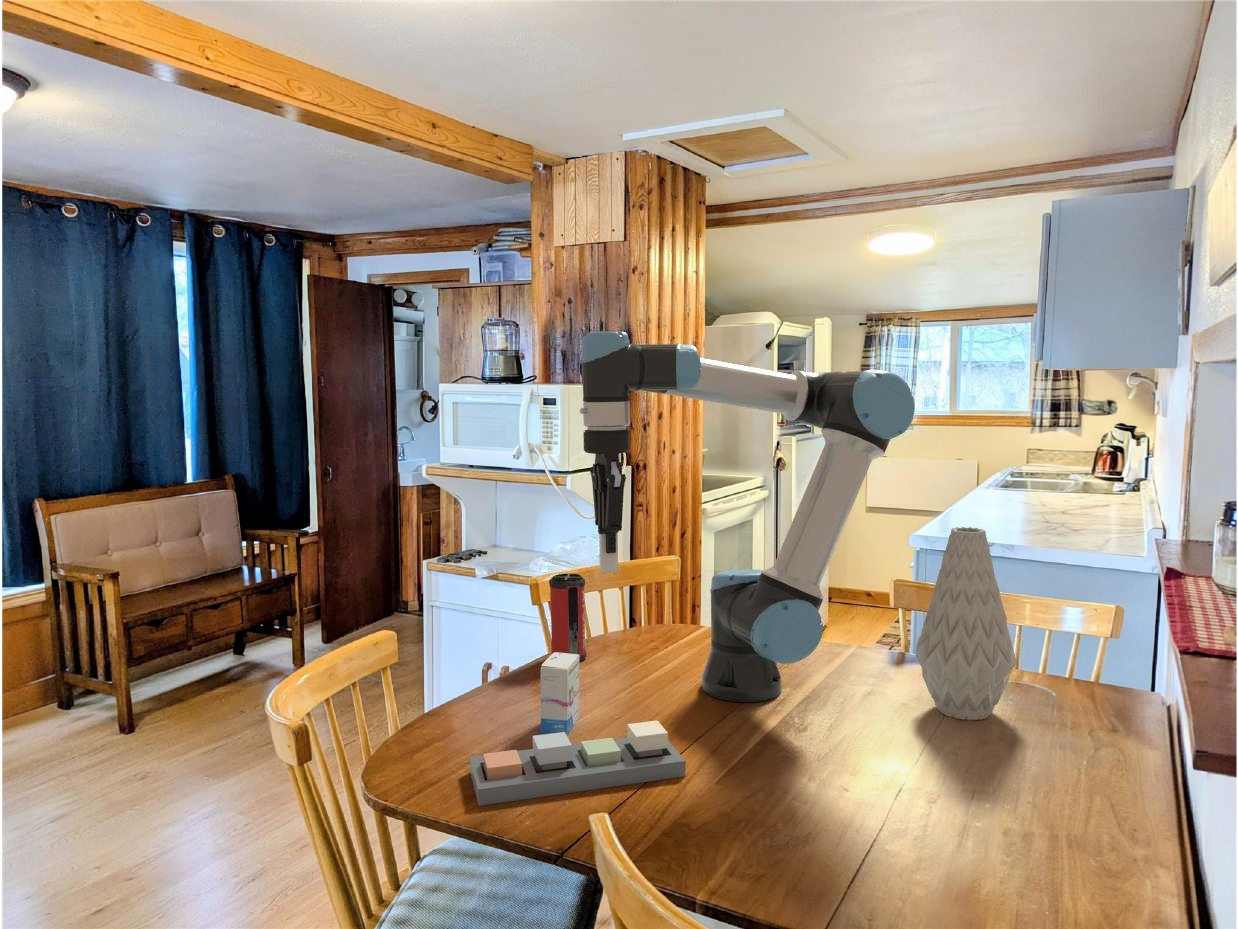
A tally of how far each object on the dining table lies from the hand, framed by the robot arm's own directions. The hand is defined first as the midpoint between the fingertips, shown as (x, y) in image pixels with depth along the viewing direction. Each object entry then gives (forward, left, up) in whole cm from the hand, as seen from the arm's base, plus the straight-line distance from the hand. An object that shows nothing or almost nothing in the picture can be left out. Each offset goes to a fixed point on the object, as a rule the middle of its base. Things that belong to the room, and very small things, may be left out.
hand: (609, 571), depth 142 cm
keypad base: (+9, +12, -28) cm, 32 cm away
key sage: (+5, +12, -28) cm, 31 cm away
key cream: (-3, +12, -26) cm, 29 cm away
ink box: (+7, -7, -29) cm, 30 cm away
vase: (-63, +8, -28) cm, 69 cm away
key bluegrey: (+12, +12, -26) cm, 31 cm away
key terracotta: (+20, +12, -28) cm, 36 cm away
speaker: (-2, -42, -28) cm, 51 cm away
